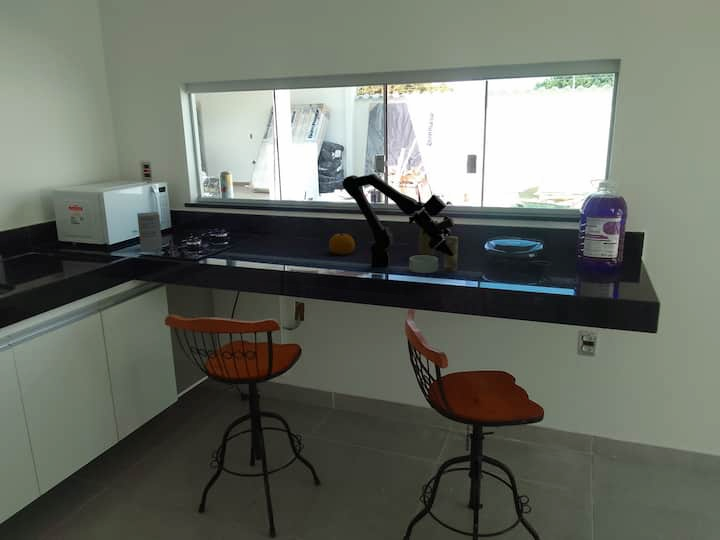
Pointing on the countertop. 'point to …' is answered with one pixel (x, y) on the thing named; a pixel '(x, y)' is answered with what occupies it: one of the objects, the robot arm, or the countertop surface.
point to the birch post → (449, 261)
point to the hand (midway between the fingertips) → (454, 253)
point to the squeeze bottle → (425, 244)
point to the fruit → (341, 244)
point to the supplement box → (149, 231)
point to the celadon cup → (423, 264)
